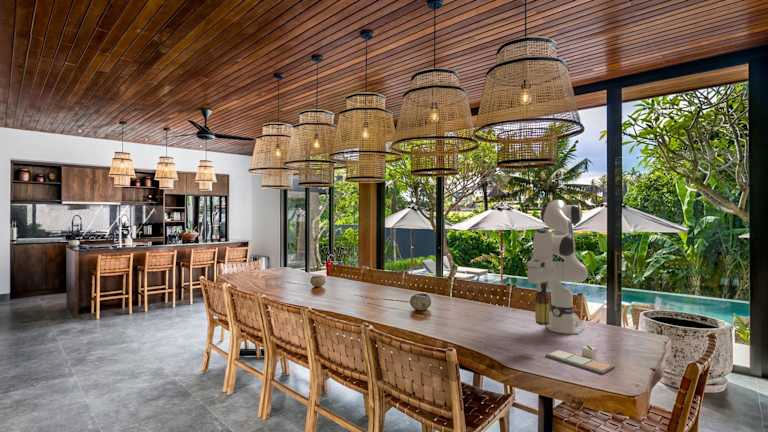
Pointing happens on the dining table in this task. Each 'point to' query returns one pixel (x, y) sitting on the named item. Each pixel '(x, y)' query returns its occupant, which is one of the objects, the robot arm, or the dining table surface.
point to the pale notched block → (589, 352)
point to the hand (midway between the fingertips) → (542, 290)
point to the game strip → (580, 361)
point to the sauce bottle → (542, 306)
